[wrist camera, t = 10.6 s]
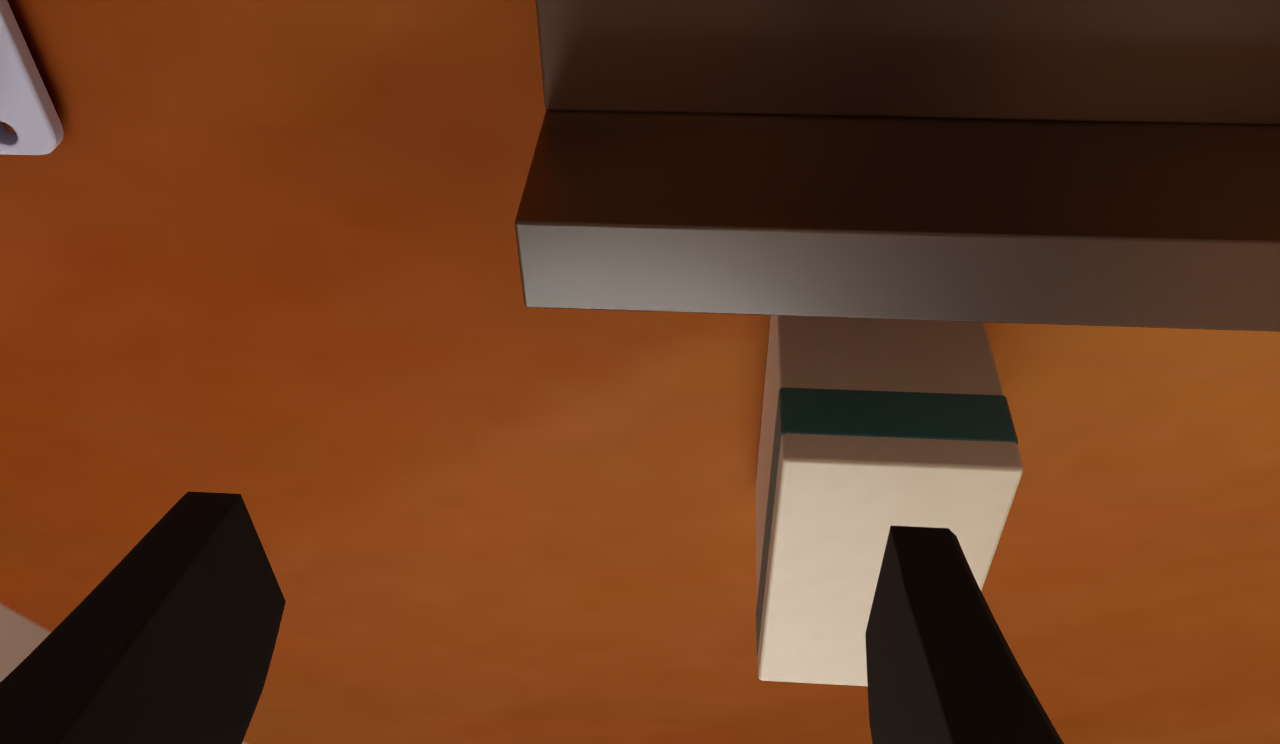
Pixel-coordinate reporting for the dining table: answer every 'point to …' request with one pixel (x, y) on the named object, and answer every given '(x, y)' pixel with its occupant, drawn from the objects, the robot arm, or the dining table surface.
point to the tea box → (868, 474)
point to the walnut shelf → (910, 160)
